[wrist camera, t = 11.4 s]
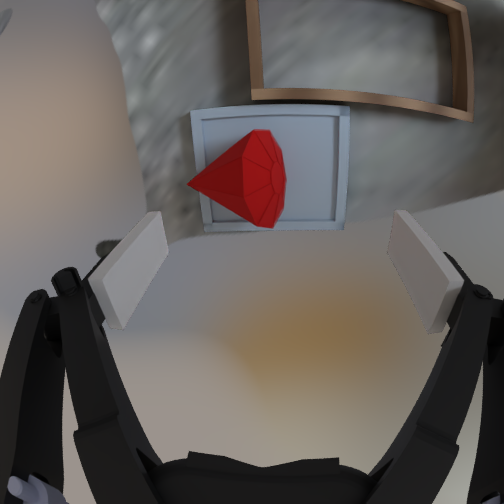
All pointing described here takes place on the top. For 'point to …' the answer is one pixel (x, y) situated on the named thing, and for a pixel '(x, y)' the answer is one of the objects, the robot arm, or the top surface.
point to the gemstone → (247, 179)
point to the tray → (294, 156)
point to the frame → (461, 94)
